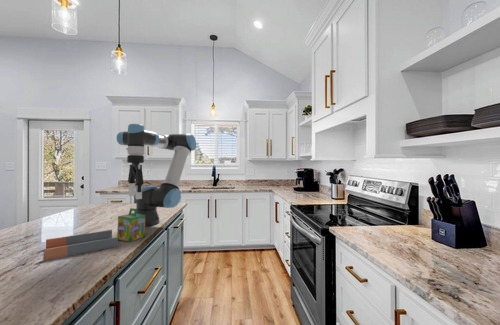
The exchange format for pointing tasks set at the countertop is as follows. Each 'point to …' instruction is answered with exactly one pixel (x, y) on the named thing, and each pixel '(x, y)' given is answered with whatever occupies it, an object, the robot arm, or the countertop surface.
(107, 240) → the channel
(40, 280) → the countertop surface
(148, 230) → the countertop surface
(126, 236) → the chalk box
